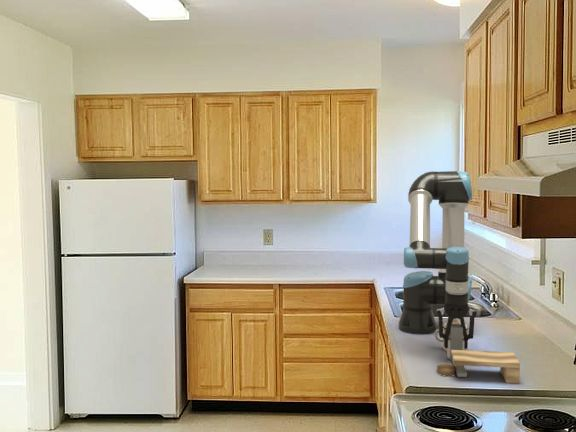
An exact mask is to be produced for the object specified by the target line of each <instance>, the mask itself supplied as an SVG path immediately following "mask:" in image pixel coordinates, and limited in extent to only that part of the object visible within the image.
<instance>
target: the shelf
mask: <svg viewBox="0 0 576 432" xmlns="http://www.w3.org/2000/svg"><path fill="white" fill-rule="evenodd" d="M451 356H452V359H453V362H452V364H453V363H454V365H463V366H464V367H465V366H466V367H467V366H468V367H486V368H487V367H488V368H499V371H500V373H501V375H502V377H503V379H504V381H505V383H506V384H509V383H511V384H520V377H521V376H520V374H521V373H520V372H521V370H520V368H521V363H520V361H519V359H518V358H517V356H516V354H515V353H514V351H491V350H490V351H489V350H487V351H486V350H471V349H470V350H468V349H467V350H451ZM454 365H453V366H454Z"/></svg>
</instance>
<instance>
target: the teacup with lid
mask: <svg viewBox="0 0 576 432" xmlns="http://www.w3.org/2000/svg"><path fill="white" fill-rule="evenodd" d="M452 324H461V322H460V320H459V319H457V318H456V319H453V322H452ZM446 326H447V322H443V334H445V330H446ZM465 327H466V332H467V335H468V334H469V325H467V324H466V323H465ZM433 333H434V334H433V335H434V338H435V340H436V341H437V342H439V343H442V350H443V351H445V352H447V348H445V347H444V338H442V339H441V338H440V337H438V335H437V333H439V328H436V331H435V332H433ZM463 338H464V337H463ZM464 350H468V348H467V349H464Z"/></svg>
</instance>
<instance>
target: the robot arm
mask: <svg viewBox="0 0 576 432" xmlns="http://www.w3.org/2000/svg"><path fill="white" fill-rule="evenodd" d="M407 197H408V198H407V200H408V202H409V204H410V210H409V211H410V215H409V246H408V247H404V249H403V266H404V267H405V268H408V269H429V270H431V269H434V270H438V271H437V274H438V275H434V274H433V272H432V271H429V270H419V271H413V272H409V273H407V274H406V275H404V277H403V284H402V288H403V295H402V296H403V298H402V300H403V301H402V302H403V303H402V306H403V307H402V308H403V309H402V312H401V315H400V318H399V320H398V329H399V330H400V331H402V332H405V333H409V334H412V335H413V334H415V335H427V334H431V333H435V331H436V330H437V322H436V318H435V315H434V312H433V306H434V305H438V306H443V307H442V308H436V313H437V317H438V329H439V331H438V336H439V339H443V338H444V347H445V348H447V351H446V353H447V354H446V356H447V358H448V359H450V338H449V334H450V329H451V325H452V322H453V319H456V318H457V319H458V320H459V321H460V322H461V326H462V327H463V337H464V338H463V350H464V349H467V350H468V347H469V346H468V344H469V343H468V341H469V340H470V339H471V340H472V339H474V330H475V317H476V315H477V311H476V309H471V308H470V307H469V302H470V297H471V292H472V283H473V282H472V281H473V278H472V277H471V276H470V275H469V262H470V261H469V260H470V257H469V255H470V254H469V250H468V248H466V247H465V208H467V207H468V205H469V201H471V200H473V187H472V181H471V177H470V173H468V171H459V170H458V171H457V170H455V171H454V170H453V171H451V170H450V171H449V170H448V171H433V170H432V171H427V172H424V173H423V174H420V175H419V176H418V177H417V178H416V179H415V180H414V181H413V183H412V184H411V185H410V187H409V190H408V195H407ZM433 201H438V205H439V206H440V208H441V209H442V224H441V225H442V234H441V236H442V238H441V240H442V242H441V243H442V244H441V245H442V246H441V248H440V247H431V204H432V202H433ZM444 313H446V315H448V316H447V322H446V323H447V326H446V330H445V334H443V324H444V319H443V318H444V317H443V315H444ZM467 313H468V314H469V323H468V335H467V332H466V327H465V324H466V322H465V316H466V315H467Z"/></svg>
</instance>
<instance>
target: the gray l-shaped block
mask: <svg viewBox="0 0 576 432" xmlns="http://www.w3.org/2000/svg"><path fill="white" fill-rule="evenodd" d="M449 338H450V358H449V360H450V362H452V365H453V366H455V367H456V376H457V378H468V376H467V375H468V373H467V370H466V367H465V366H463V365H454V363H453V359H452V356H451V350H463V327H462V326H461V324H452V325H451V329H450V334H449Z"/></svg>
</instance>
